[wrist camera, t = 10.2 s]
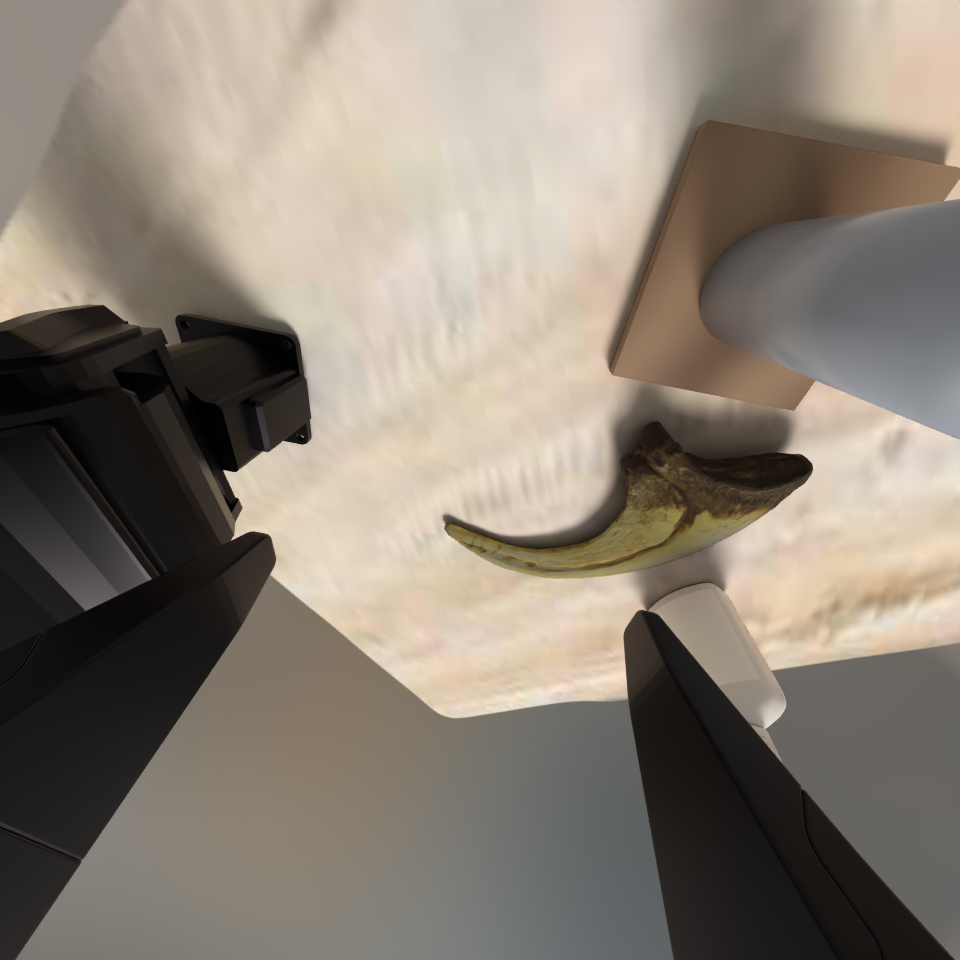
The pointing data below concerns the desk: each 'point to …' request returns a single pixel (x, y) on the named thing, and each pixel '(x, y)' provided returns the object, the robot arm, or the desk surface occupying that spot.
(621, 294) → the desk surface
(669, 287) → the coaster
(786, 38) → the desk surface
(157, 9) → the desk surface
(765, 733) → the eye dropper bottle
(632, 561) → the claw
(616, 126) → the desk surface
